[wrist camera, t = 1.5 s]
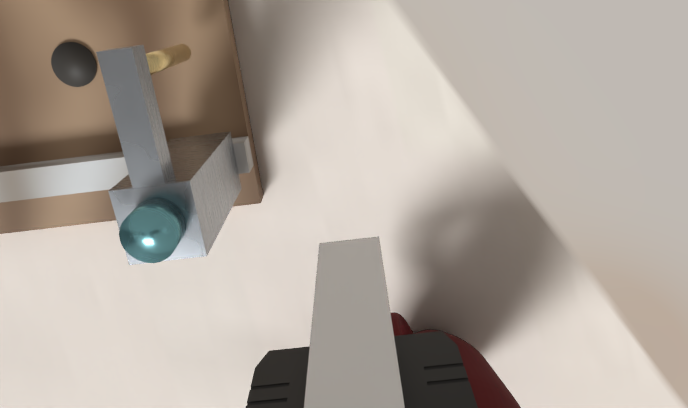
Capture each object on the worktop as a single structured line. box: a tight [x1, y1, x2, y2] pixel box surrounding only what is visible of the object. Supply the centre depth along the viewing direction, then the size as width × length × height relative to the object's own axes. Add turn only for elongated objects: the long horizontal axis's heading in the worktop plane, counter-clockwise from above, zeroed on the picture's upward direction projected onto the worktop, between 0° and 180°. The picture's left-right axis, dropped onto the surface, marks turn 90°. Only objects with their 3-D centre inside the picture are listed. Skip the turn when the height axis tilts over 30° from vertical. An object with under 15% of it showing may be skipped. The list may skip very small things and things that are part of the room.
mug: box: [391, 313, 521, 408], centre depth 31 cm, size 11×8×10 cm
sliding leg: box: [96, 44, 242, 265], centre depth 23 cm, size 3×8×9 cm, turn 7°
